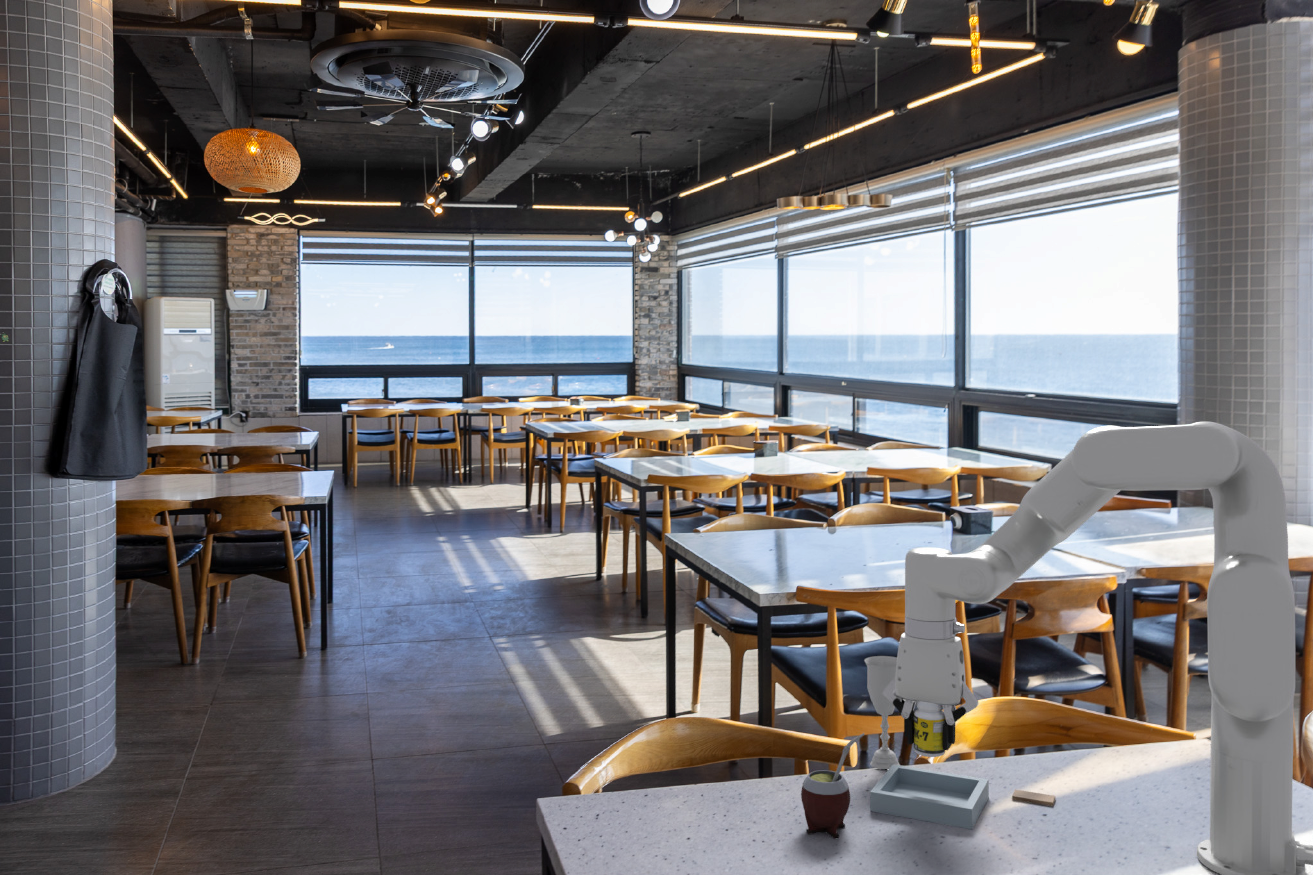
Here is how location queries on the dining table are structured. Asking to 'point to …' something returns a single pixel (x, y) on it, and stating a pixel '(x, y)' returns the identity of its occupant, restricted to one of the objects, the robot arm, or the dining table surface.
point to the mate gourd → (826, 798)
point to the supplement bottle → (928, 729)
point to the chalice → (881, 704)
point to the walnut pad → (1033, 797)
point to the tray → (930, 796)
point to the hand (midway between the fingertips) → (929, 743)
